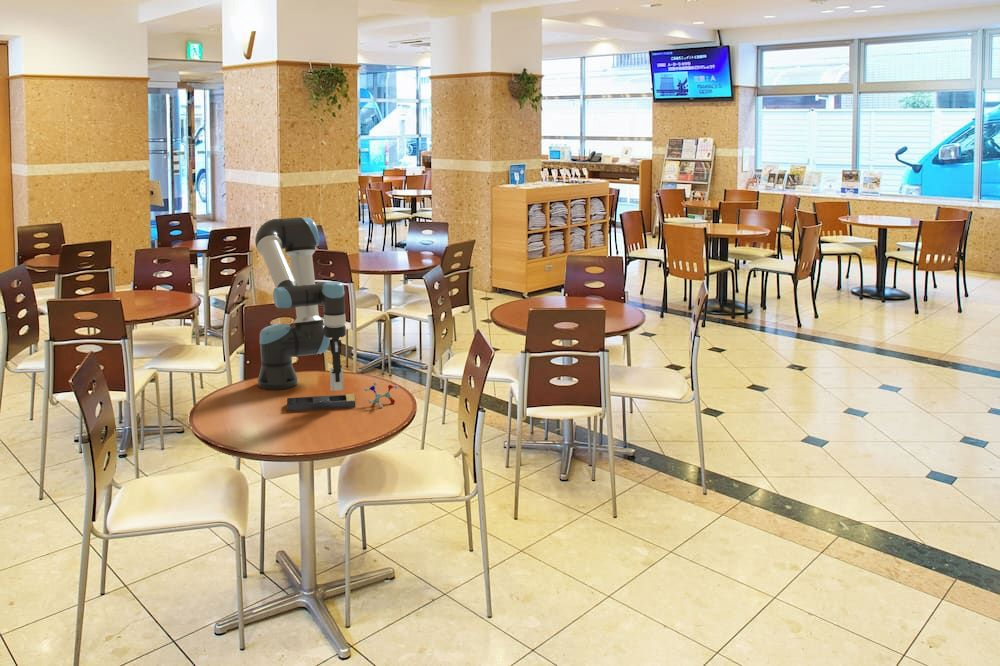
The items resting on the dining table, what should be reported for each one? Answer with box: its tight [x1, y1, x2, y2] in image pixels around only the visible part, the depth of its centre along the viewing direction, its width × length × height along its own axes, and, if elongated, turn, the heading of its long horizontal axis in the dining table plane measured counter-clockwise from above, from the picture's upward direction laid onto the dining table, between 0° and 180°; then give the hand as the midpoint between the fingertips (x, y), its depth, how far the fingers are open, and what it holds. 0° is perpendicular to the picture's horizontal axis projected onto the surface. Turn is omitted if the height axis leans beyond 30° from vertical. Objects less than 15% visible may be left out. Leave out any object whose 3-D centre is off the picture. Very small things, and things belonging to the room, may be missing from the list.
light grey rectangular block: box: [329, 368, 344, 392], centre depth 318 cm, size 4×4×7 cm
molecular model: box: [364, 381, 399, 409], centre depth 321 cm, size 12×10×10 cm
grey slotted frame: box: [286, 393, 356, 413], centre depth 319 cm, size 8×24×3 cm, turn 103°
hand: (337, 387), depth 319 cm, fingers closed on light grey rectangular block, 4 cm apart
